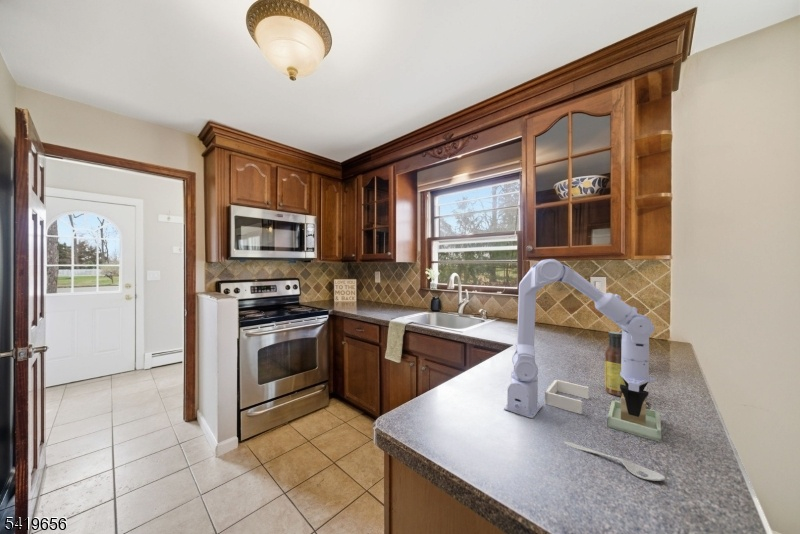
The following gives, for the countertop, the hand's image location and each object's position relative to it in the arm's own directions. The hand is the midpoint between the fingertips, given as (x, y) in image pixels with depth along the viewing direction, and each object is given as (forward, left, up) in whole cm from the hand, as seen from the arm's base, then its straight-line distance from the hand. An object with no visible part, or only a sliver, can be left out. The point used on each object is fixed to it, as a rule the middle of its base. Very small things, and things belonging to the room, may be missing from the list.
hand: (634, 409), depth 77 cm
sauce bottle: (+20, +5, -4) cm, 21 cm away
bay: (+3, +16, -4) cm, 17 cm away
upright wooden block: (0, 0, -3) cm, 3 cm away
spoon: (-22, +5, -4) cm, 23 cm away
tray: (0, 0, -4) cm, 4 cm away
